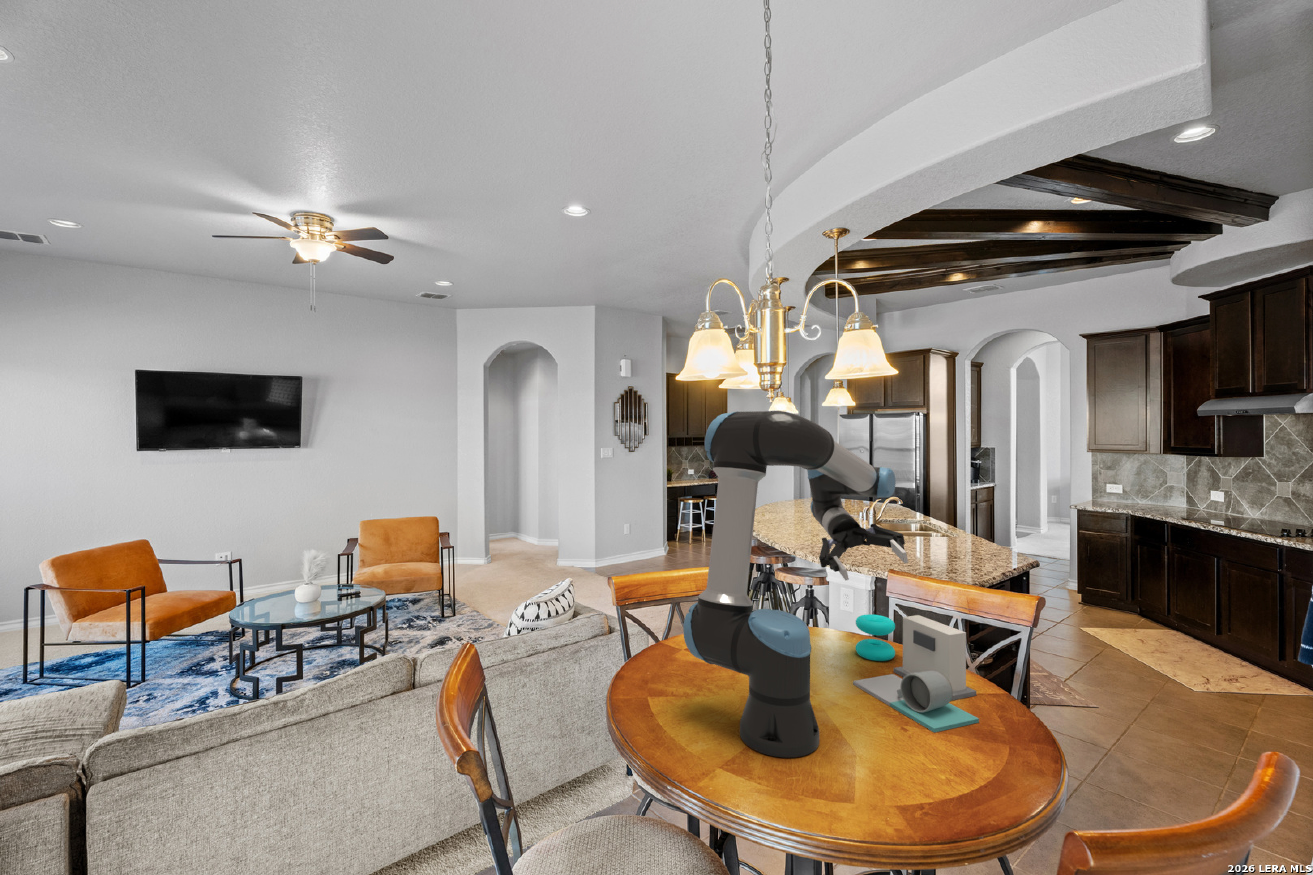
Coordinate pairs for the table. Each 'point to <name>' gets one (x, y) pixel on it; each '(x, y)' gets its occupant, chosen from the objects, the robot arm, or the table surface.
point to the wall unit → (935, 652)
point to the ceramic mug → (925, 691)
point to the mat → (932, 719)
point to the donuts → (875, 647)
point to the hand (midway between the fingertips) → (875, 566)
